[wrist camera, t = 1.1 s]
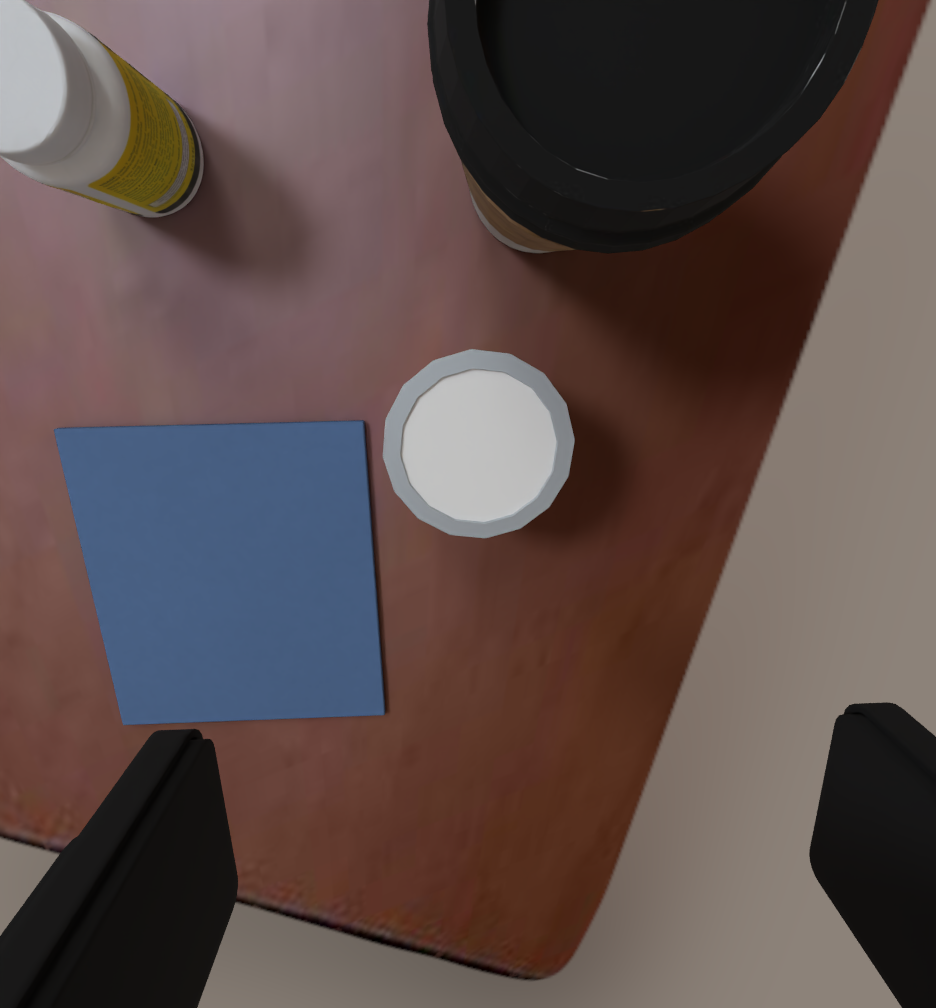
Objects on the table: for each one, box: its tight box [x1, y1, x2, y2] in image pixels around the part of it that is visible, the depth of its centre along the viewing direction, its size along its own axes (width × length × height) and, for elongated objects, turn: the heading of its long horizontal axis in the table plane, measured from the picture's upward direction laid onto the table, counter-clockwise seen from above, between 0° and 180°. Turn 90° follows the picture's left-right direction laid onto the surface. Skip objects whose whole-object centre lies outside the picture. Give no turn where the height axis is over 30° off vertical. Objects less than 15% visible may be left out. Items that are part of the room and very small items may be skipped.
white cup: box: [383, 349, 575, 538], centre depth 24 cm, size 7×7×7 cm
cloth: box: [54, 420, 385, 725], centre depth 29 cm, size 16×14×1 cm
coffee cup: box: [427, 0, 878, 253], centre depth 17 cm, size 8×8×15 cm
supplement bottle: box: [0, 0, 204, 217], centre depth 20 cm, size 5×5×8 cm
